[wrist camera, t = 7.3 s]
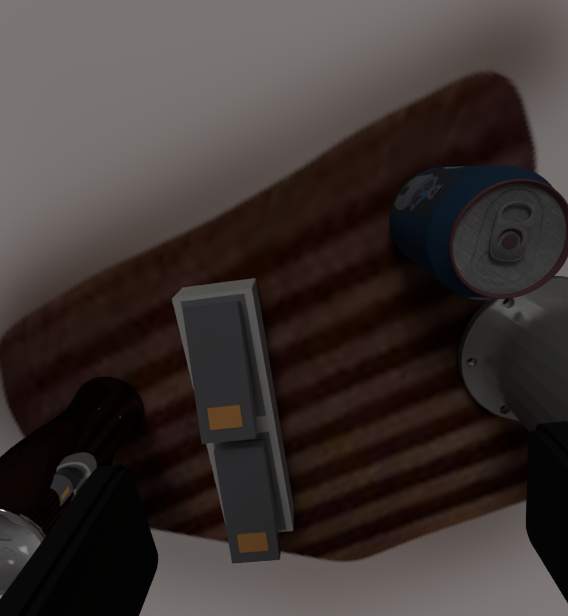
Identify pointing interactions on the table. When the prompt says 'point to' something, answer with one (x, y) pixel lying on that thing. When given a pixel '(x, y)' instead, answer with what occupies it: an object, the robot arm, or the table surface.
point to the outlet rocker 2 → (247, 501)
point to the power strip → (259, 380)
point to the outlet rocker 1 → (220, 372)
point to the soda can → (482, 229)
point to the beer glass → (59, 466)
